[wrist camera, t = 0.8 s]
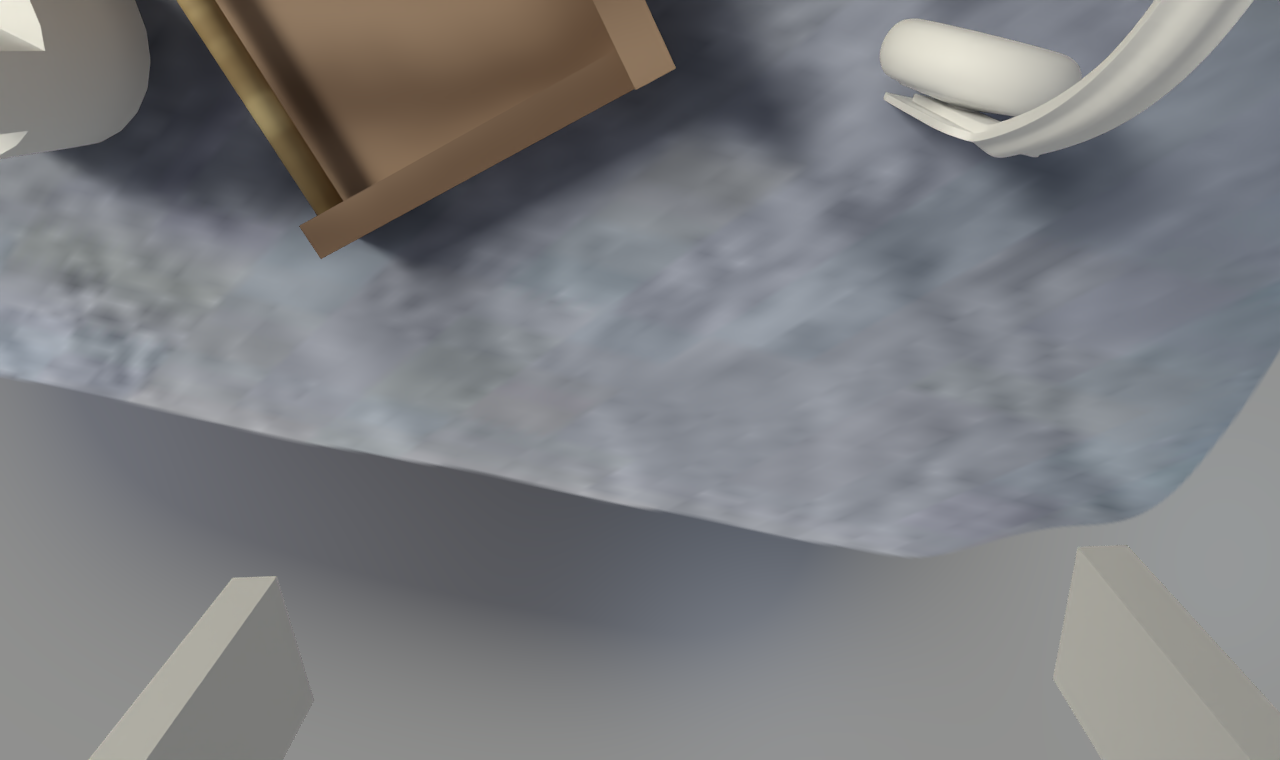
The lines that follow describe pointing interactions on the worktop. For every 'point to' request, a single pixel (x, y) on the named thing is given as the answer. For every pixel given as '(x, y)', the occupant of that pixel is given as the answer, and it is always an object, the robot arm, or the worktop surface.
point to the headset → (1047, 77)
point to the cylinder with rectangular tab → (69, 72)
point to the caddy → (418, 89)
